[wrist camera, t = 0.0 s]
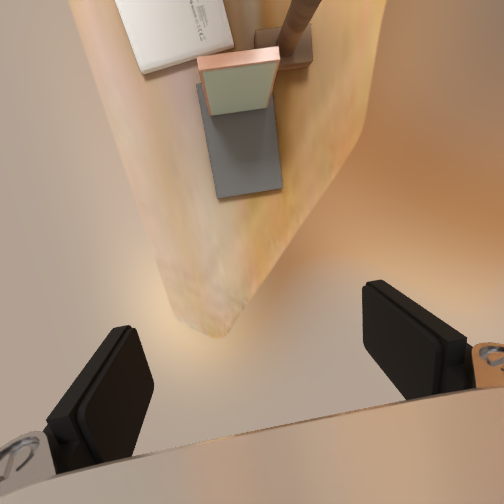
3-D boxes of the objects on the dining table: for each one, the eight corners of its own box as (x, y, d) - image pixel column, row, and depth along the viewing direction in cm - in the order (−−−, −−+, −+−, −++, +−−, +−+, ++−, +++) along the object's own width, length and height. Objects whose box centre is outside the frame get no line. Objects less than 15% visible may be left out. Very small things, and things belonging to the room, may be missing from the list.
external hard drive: (117, 1, 32) (214, -28, 32) (144, 76, 34) (233, 49, 34) (111, -8, 30) (213, -38, 30) (140, 71, 33) (234, 43, 33)
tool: (253, 38, 34) (272, -50, 20) (305, 31, 34) (357, -60, 21) (258, 73, 35) (278, 12, 22) (308, 66, 35) (358, 2, 22)
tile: (207, 106, 34) (196, 56, 25) (266, 98, 35) (278, 46, 25) (209, 116, 35) (199, 71, 25) (267, 108, 35) (280, 60, 25)
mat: (196, 86, 35) (196, 84, 34) (269, 76, 35) (270, 74, 34) (217, 197, 39) (217, 198, 38) (281, 187, 40) (282, 188, 39)
